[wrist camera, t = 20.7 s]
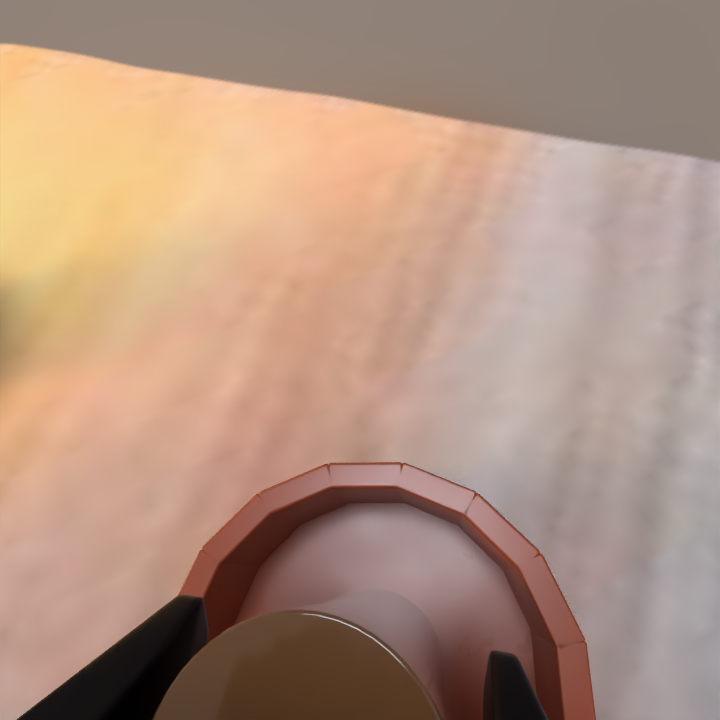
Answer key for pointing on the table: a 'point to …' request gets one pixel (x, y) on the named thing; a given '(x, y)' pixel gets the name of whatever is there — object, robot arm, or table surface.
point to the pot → (403, 574)
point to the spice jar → (317, 665)
